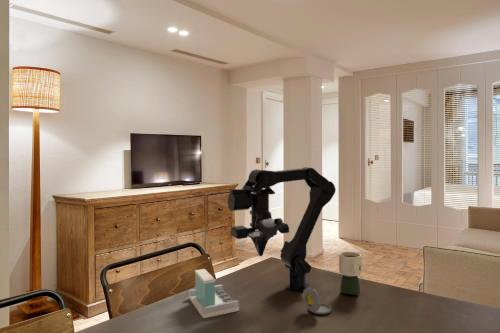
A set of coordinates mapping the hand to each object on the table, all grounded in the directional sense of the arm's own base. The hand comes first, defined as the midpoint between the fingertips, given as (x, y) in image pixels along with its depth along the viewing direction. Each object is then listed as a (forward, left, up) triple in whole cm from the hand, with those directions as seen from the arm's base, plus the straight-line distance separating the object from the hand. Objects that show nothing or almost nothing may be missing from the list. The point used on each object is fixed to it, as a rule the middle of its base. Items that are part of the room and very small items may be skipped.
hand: (260, 255), depth 118 cm
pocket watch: (+2, +20, -13) cm, 24 cm away
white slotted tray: (+13, -9, -13) cm, 21 cm away
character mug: (-16, +25, -13) cm, 32 cm away
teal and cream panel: (+16, -11, -12) cm, 22 cm away
